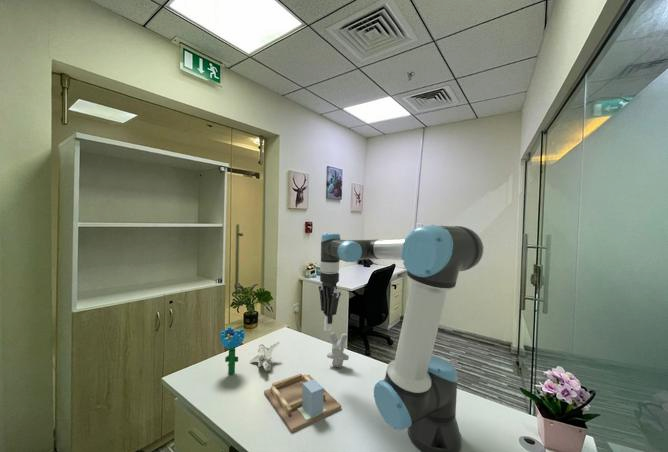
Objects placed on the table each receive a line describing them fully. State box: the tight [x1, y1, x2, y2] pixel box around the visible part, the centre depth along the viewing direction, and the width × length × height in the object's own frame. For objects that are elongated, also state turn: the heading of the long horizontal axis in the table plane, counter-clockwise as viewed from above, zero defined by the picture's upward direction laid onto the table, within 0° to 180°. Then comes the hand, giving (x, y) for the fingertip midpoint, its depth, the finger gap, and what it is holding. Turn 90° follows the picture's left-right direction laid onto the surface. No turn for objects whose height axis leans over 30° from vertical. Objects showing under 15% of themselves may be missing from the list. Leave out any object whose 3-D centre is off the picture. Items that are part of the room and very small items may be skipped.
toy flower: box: [219, 326, 245, 376], centre depth 111 cm, size 9×9×18 cm
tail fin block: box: [302, 378, 325, 417], centre depth 89 cm, size 6×4×8 cm
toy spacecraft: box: [249, 341, 280, 372], centre depth 115 cm, size 8×15×15 cm
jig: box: [263, 373, 342, 434], centre depth 95 cm, size 22×19×3 cm
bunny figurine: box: [326, 331, 350, 369], centre depth 118 cm, size 10×5×15 cm, turn 78°
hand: (327, 330), depth 107 cm, fingers closed
